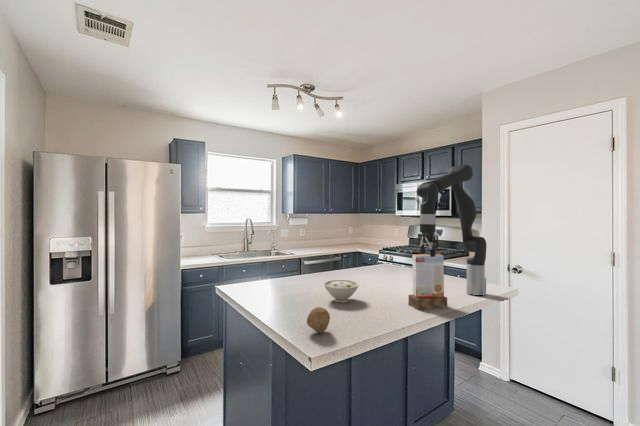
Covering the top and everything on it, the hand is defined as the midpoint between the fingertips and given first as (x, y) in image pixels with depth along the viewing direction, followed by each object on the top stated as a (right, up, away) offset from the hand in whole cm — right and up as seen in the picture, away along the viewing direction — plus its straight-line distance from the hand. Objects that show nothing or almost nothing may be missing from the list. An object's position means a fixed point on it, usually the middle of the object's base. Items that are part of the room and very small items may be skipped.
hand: (427, 255), depth 149 cm
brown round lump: (-55, -26, -33) cm, 69 cm away
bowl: (-43, -26, +10) cm, 51 cm away
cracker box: (0, -21, 0) cm, 21 cm away
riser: (0, -26, 0) cm, 26 cm away
